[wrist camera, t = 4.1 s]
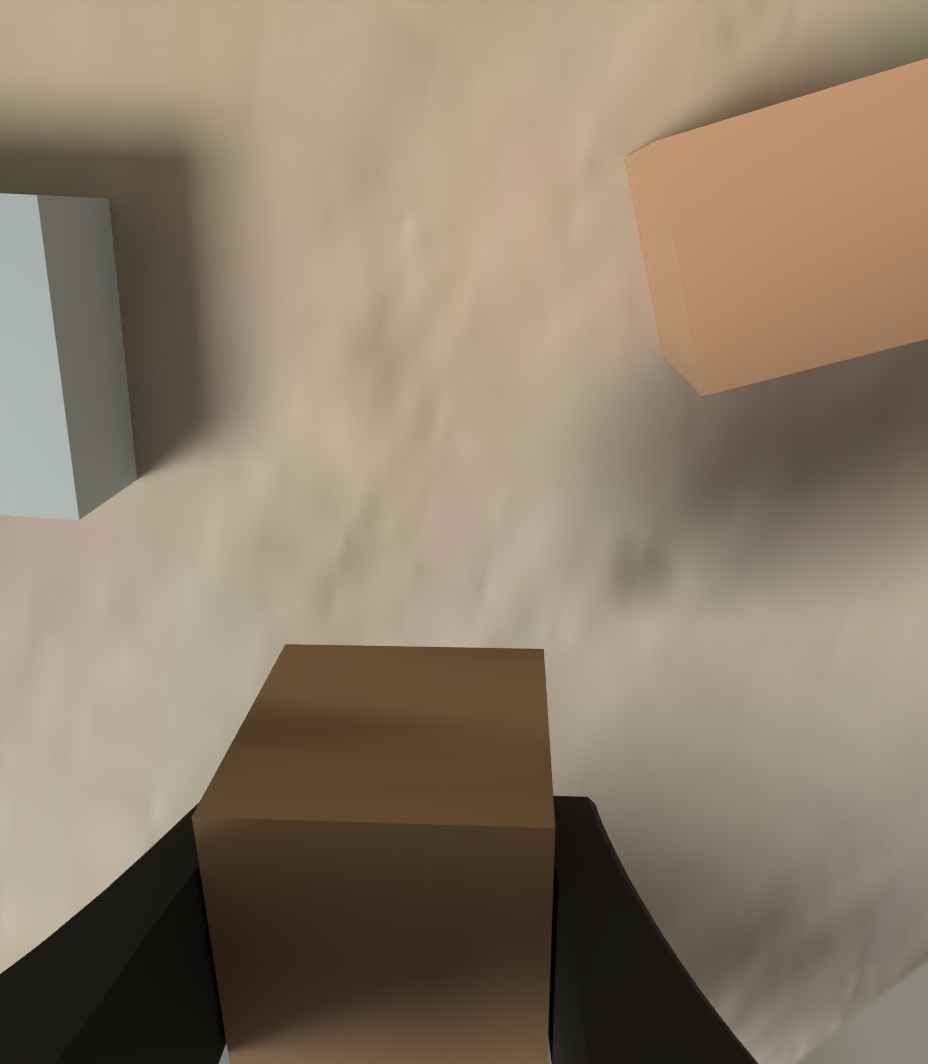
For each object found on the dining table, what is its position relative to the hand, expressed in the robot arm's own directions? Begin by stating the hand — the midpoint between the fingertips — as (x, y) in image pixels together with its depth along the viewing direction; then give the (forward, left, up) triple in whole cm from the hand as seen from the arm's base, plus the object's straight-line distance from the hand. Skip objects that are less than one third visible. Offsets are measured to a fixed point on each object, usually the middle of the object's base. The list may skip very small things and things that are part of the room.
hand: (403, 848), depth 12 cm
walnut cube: (0, 0, -2) cm, 2 cm away
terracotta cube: (+8, -6, -8) cm, 13 cm away
